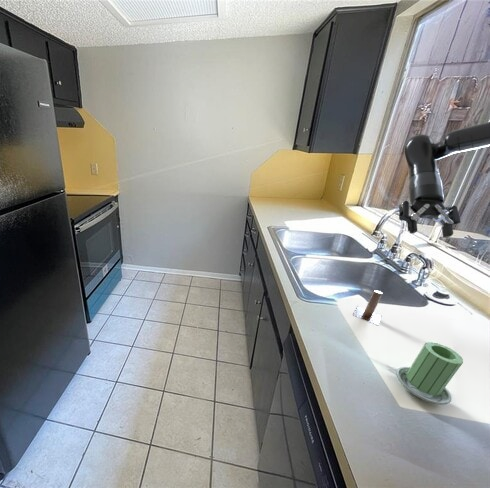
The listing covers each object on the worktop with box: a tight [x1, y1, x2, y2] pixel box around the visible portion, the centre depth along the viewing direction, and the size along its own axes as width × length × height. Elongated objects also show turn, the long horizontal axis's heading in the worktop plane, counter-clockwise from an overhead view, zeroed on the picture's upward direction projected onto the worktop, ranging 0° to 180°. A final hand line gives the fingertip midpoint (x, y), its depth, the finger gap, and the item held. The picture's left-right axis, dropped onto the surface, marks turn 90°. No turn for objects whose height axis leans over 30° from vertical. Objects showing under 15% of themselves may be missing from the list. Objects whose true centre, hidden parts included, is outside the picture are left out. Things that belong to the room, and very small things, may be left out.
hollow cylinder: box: [406, 341, 464, 396], centre depth 59 cm, size 6×6×10 cm
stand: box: [352, 289, 383, 327], centre depth 83 cm, size 7×7×11 cm
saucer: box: [395, 366, 452, 405], centre depth 61 cm, size 10×10×2 cm
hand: (430, 234), depth 78 cm, fingers open, 8 cm apart
